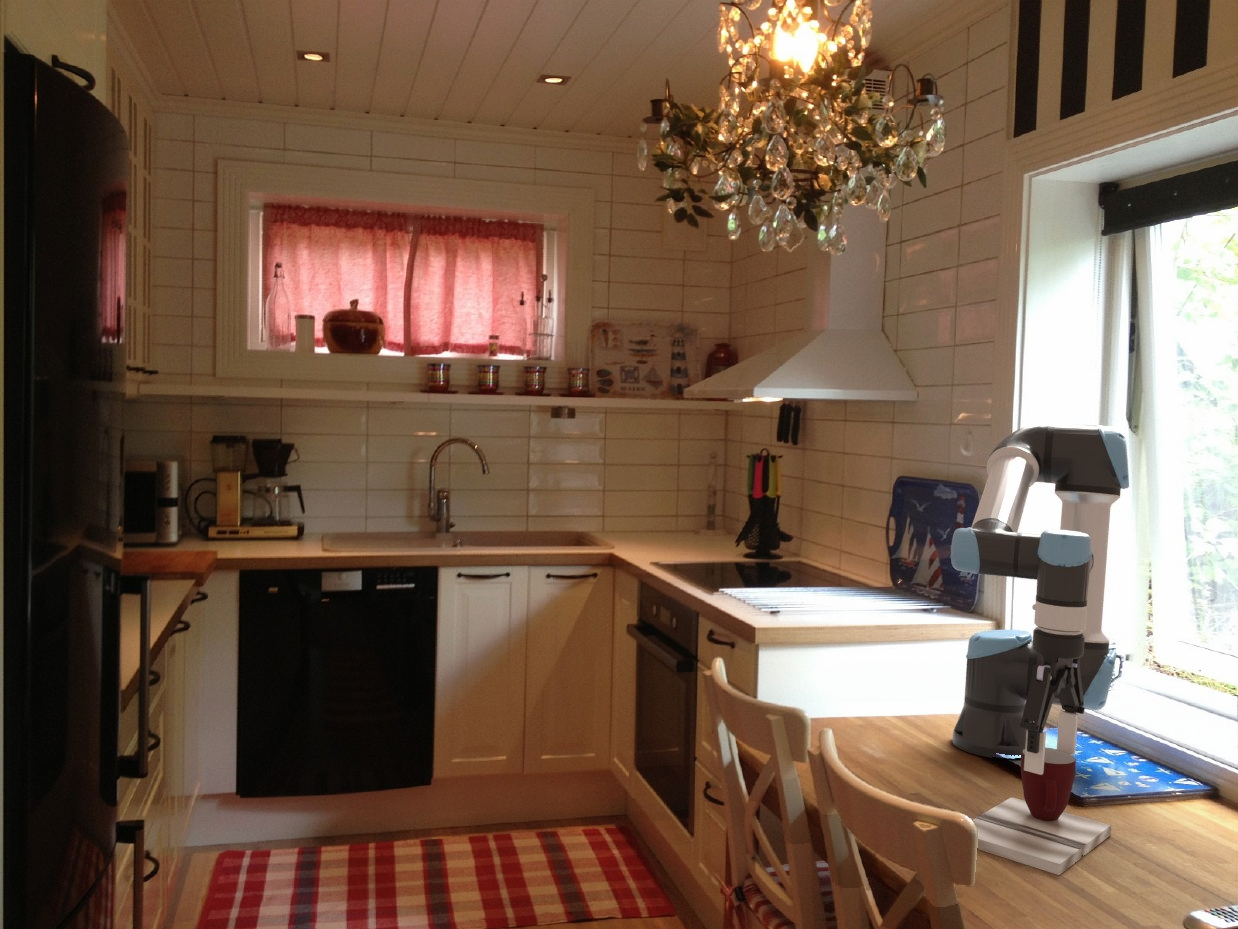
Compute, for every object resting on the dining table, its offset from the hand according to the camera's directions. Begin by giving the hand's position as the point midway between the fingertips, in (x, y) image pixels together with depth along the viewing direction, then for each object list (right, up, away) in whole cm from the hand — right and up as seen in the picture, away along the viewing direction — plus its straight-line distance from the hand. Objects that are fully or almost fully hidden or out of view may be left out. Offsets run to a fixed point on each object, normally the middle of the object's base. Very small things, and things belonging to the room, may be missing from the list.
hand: (1050, 762), depth 171 cm
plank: (-1, -11, 0) cm, 11 cm away
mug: (-1, -9, 0) cm, 9 cm away
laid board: (-9, -11, -9) cm, 16 cm away
